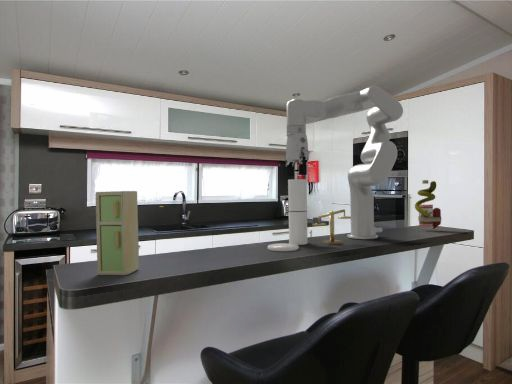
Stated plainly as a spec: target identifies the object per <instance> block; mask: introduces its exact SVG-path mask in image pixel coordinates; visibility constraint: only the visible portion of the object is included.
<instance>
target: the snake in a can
mask: <svg viewBox="0 0 512 384" xmlns="http://www.w3.org/2000/svg"><path fill="white" fill-rule="evenodd" d="M421 182H422V184H423V185H424V184H425V185H427V184H429V180H428V179H424V180H423V179H422V181H421ZM436 188H437V182H436V181H434V180H432V181H431V182H430V184H429V187H428V188H424V189H420V190H417V195H418V196H420V197H424V198H422V199H419V200H418V201H416V202H415V204H414V209H415V210H416V211H417V212H418V216H417V217H418V218H417V219H418V224H419V227H432V228H433V230H434V229H437V228H438V227H439V226H441V224H442V212H441V211H442V210H441V208H440V207H434V205H433V204H425V203H427V202H430V201H434V200H435V199H436V195H435V194H434V193H433V192H435V190H436Z"/></svg>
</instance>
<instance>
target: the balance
mask: <svg viewBox="0 0 512 384" xmlns="http://www.w3.org/2000/svg"><path fill="white" fill-rule="evenodd" d="M340 213H343V216H341V215H340V216H337V219H338V220H339V219H341V220H343V219H345V220H349V219H350V220H351V215H350V216H349V215H346V209H340V210H336V211H334V210H331V211H329V212H328V213H326V214H320V215H318V216H316V217H312V223H311V224H312V226H314V227H325V226H326V225H327V223H324V222H322V218H326V217H329V240H327V239H326V240H321V244H322V245H327V246H331V245H343V244H344V240H340V239H335V215H338V214H340Z"/></svg>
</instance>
